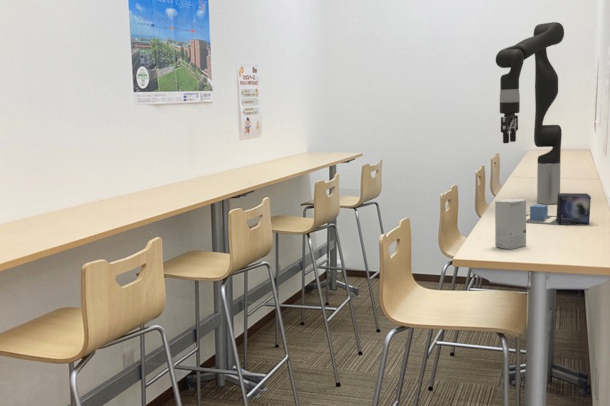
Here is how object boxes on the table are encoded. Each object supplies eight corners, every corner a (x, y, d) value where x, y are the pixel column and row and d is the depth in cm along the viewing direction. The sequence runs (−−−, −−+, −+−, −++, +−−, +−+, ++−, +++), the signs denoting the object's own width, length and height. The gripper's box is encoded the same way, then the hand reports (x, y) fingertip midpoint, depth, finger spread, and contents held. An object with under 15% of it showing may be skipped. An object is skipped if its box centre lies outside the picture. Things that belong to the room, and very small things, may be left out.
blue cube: (534, 217, 266) (534, 204, 266) (547, 218, 264) (547, 205, 263) (530, 219, 262) (530, 206, 262) (543, 220, 260) (543, 207, 259)
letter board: (518, 214, 276) (518, 213, 276) (571, 217, 264) (571, 216, 264) (505, 221, 262) (505, 220, 262) (560, 225, 251) (560, 224, 251)
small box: (558, 224, 251) (559, 195, 249) (555, 221, 257) (556, 192, 255) (590, 224, 249) (591, 195, 247) (586, 221, 255) (587, 193, 253)
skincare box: (509, 250, 215) (509, 202, 213) (494, 247, 220) (494, 200, 218) (527, 245, 220) (527, 199, 218) (511, 243, 225) (511, 197, 223)
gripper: (513, 101, 267) (513, 144, 269) (524, 100, 278) (524, 141, 281) (494, 102, 271) (494, 143, 273) (505, 100, 282) (505, 141, 285)
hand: (509, 142), depth 277 cm, fingers open, 8 cm apart
